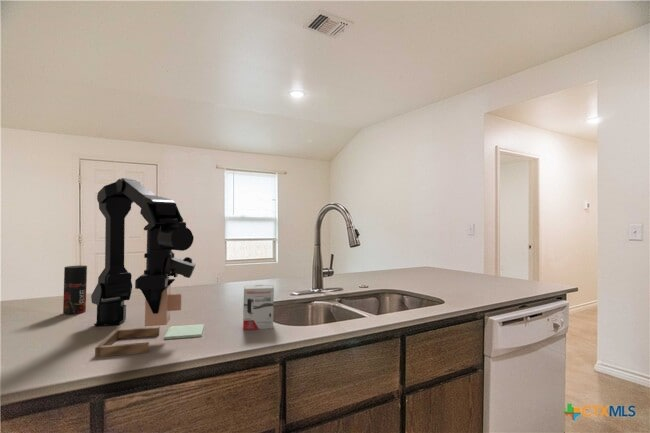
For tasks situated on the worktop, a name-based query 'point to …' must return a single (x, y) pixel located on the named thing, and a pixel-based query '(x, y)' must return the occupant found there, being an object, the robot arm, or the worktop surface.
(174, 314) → the worktop surface
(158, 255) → the robot arm
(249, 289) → the ink box
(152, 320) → the block with side knob
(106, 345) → the walnut cradle
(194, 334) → the green mat
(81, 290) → the deodorant
